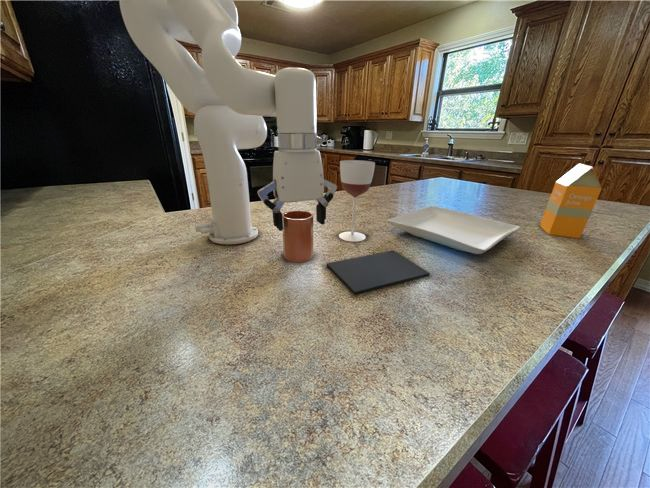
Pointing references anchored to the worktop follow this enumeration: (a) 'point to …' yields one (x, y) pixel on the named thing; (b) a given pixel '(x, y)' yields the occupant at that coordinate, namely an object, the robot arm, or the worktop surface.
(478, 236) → the square plate
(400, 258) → the mat
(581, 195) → the orange juice
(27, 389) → the worktop surface
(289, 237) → the cup
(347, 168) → the wineglass
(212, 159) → the robot arm
